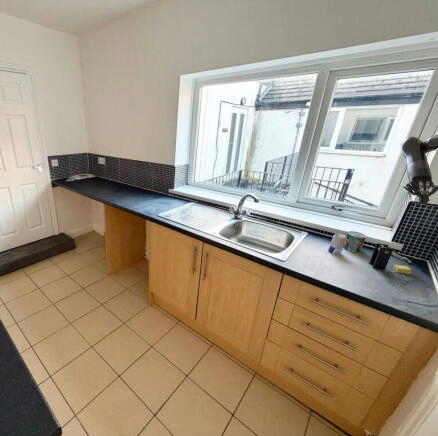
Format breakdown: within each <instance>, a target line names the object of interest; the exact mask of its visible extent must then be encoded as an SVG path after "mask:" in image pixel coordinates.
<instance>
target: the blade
mask: <svg viewBox="0 0 438 436" xmlns="http://www.w3.org/2000/svg"><path fill="white" fill-rule="evenodd" d="M380 247H384V246H382V245H381V246H380ZM380 247H379V248H378V250H379V249H380ZM391 256H393V257H395V258H397V259H400V260H402V261H403V262H405V263H406V264H407V265H409V266H413V265H415V263H414V262H413V261H412V260H411V259H410V258H408V257H406V256H401V255H399V254H397V253H394V252H393V251H392V254H391Z"/></svg>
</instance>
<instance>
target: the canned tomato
mask: <svg viewBox="0 0 438 436" xmlns="http://www.w3.org/2000/svg"><path fill="white" fill-rule="evenodd" d="M345 236H346V240H345V243H344V246H343V248H342V249H344V250H345V251H348V252H352V253H360V252H361V251H362V248H363V245H364V243H365V240H366V238H367V235H366V234H364V233H362V232H358V231H353V230H351V231H347V233H346V235H345Z"/></svg>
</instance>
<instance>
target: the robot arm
mask: <svg viewBox="0 0 438 436" xmlns="http://www.w3.org/2000/svg"><path fill="white" fill-rule="evenodd" d="M437 148H438V134H435V135H432V136H430V137H428V138H427V139H426V140H425V141H424V140H422V139H420V138H419V137H416V136H408V137H405V138H404V139H403V140H402V141H401V143H400V151H401V153H402V155H403V157H404V158H405V164H406V172H407V173H406V174H407V180H408V182H407V183H405V185H403V188H404V190H406V191H407V192H408V193H410V194H411V195H412V196H417V198H418V202H419V203H420V204H423V205H426V204H428V203H429V202H430V197H432V196H433V195H434V194H435V193H436V192H437V191H438V185H436V184H435V183H434V181H433V175H432V171H430V170H431V167H430V168H429V166H430V163H429V161H428V156H427V155H426V153H432V152H433V151H437V150H436V149H437ZM430 189H431V190H430Z"/></svg>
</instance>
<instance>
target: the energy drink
mask: <svg viewBox="0 0 438 436" xmlns="http://www.w3.org/2000/svg"><path fill="white" fill-rule="evenodd" d="M346 236H347V235H345V234H343V233H338V232H336V233H334V234H333V236H332V239H331V242H330V245H329V247H328V251H327V252H328V253H329V254H332V255H336V256H340V255H341V254H342V251H343V249H344V248H343V246H344V243H345V240H346Z"/></svg>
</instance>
